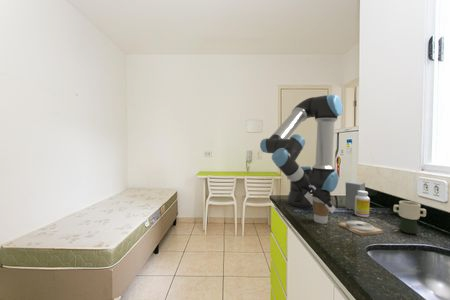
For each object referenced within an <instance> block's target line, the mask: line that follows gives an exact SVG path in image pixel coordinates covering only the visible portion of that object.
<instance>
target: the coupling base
mask: <svg viewBox="0 0 450 300" xmlns="http://www.w3.org/2000/svg"><path fill="white" fill-rule="evenodd" d="M338 226H340V227H342V228H343V229H346V230H347V231H350V232H352V233H354V234H356V235H358V236H360V237H365V236H372V235H378V234H383V233H384V230H383V229H380V228H378V227H377V226H376V227H375V226H374V225H373V224H371V223H368V222H365V221H362V220H347V221H341V222H338Z"/></svg>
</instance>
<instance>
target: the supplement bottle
mask: <svg viewBox="0 0 450 300" xmlns="http://www.w3.org/2000/svg"><path fill="white" fill-rule="evenodd" d="M357 193H358V195H356V196H355V210H354V214H355V215H356V216H357V217H361V218H369V216H370V206H371V205H370V203H371V198H370V197H369V196H368V195H369V192H368V191H366V190H365V191H361V190H359V191H358V192H357Z"/></svg>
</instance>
